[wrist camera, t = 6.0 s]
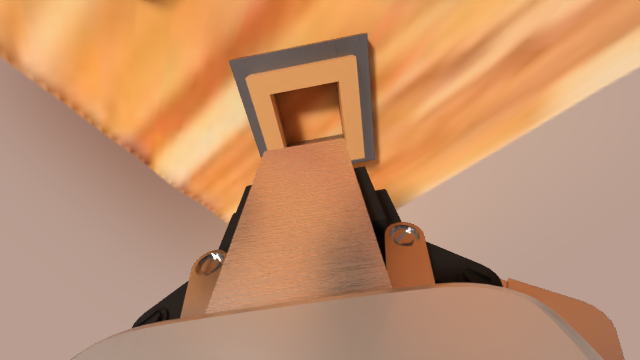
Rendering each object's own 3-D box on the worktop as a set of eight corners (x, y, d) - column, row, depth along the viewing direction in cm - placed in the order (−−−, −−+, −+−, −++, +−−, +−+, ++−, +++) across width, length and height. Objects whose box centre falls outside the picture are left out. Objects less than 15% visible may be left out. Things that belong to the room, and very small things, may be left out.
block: (343, 137, 13) (406, 332, 5) (351, 202, 16) (403, 411, 7) (264, 151, 13) (188, 360, 5) (283, 212, 16) (254, 427, 7)
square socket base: (363, 33, 24) (372, 33, 21) (372, 154, 30) (379, 167, 27) (233, 59, 24) (222, 63, 21) (269, 172, 31) (265, 187, 28)
